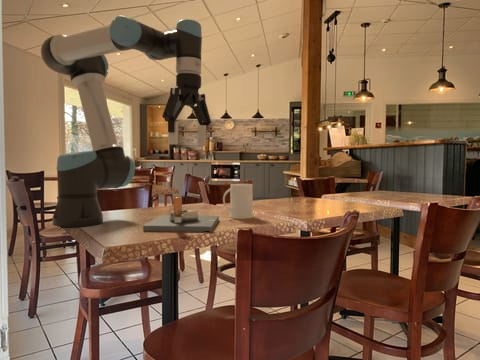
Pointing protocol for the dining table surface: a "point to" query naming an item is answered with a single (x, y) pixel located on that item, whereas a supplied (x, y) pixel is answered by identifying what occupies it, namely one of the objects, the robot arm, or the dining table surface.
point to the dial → (182, 212)
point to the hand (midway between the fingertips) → (188, 145)
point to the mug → (240, 201)
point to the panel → (181, 224)
